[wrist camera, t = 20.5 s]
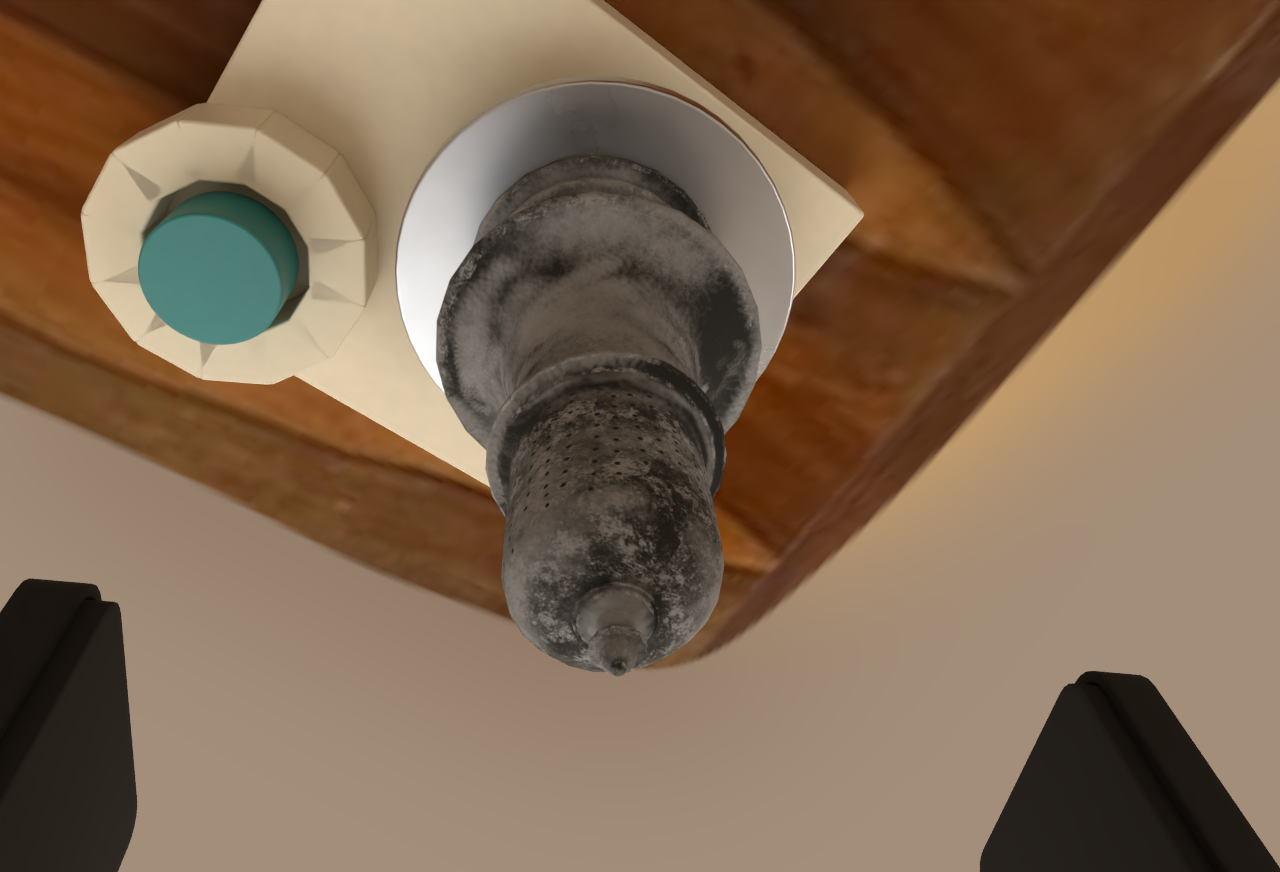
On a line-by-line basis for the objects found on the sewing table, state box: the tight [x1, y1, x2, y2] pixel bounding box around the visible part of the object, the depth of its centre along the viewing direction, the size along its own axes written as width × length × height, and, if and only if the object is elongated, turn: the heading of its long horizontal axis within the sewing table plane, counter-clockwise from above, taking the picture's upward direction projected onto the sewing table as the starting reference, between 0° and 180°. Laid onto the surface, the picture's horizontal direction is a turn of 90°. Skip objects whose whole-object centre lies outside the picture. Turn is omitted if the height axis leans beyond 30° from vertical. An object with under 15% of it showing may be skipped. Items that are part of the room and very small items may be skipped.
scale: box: [81, 0, 864, 487], centre depth 24 cm, size 14×11×4 cm
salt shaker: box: [436, 156, 762, 676], centre depth 17 cm, size 6×6×12 cm
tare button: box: [138, 191, 299, 345], centre depth 22 cm, size 3×3×2 cm
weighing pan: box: [395, 75, 795, 394], centre depth 23 cm, size 8×8×1 cm
